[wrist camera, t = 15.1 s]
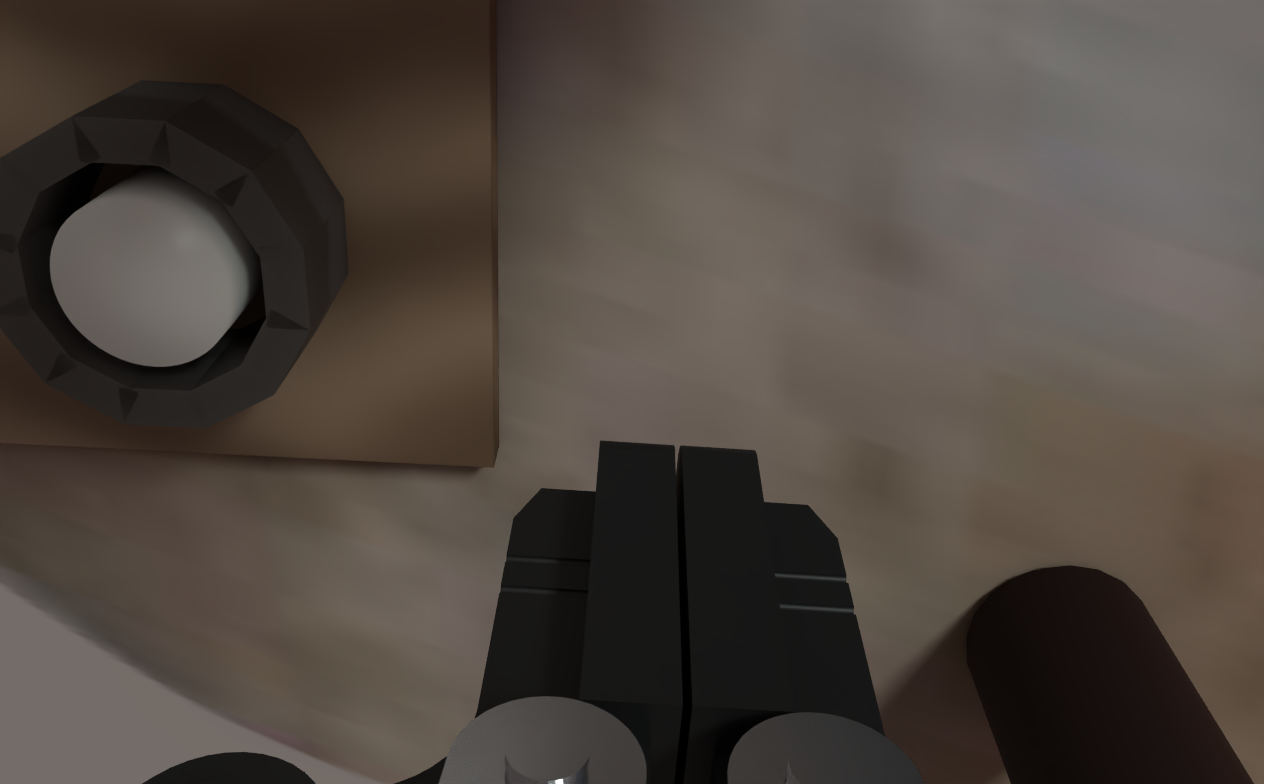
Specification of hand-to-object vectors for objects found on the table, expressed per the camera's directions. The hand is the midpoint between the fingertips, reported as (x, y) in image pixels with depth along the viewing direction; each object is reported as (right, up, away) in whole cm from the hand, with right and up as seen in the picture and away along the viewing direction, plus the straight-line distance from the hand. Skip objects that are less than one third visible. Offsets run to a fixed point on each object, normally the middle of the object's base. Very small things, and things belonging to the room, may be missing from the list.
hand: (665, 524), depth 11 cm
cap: (-14, +6, +25) cm, 29 cm away
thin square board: (-14, +7, +26) cm, 30 cm away
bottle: (+16, -8, +33) cm, 37 cm away
